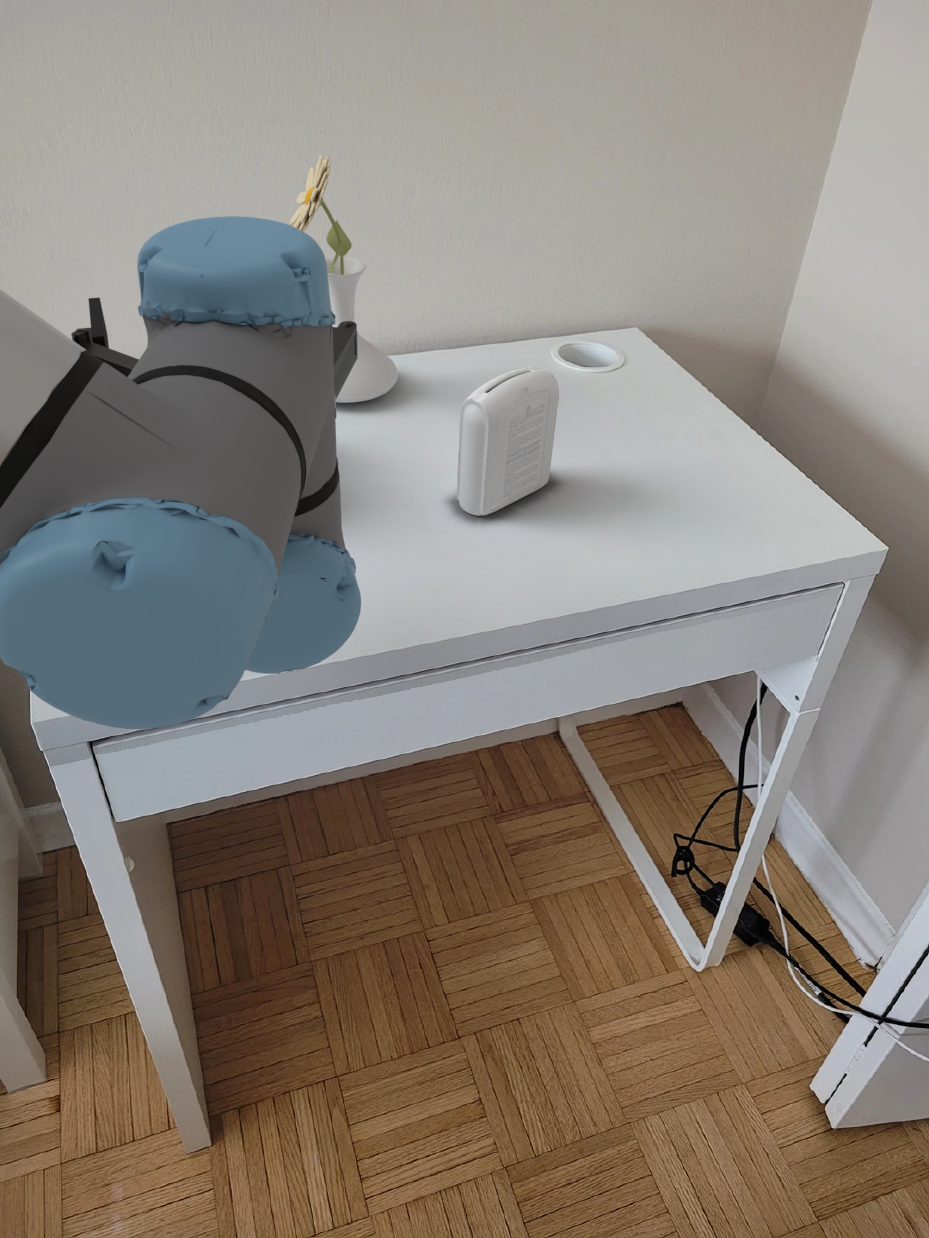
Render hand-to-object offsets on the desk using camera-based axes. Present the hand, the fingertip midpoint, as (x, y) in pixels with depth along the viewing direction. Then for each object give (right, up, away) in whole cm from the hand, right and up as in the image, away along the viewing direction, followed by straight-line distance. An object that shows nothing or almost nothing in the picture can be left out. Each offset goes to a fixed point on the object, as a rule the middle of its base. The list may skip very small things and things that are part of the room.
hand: (195, 308), depth 69 cm
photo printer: (+23, -11, +22) cm, 34 cm away
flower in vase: (+6, +3, +37) cm, 37 cm away
